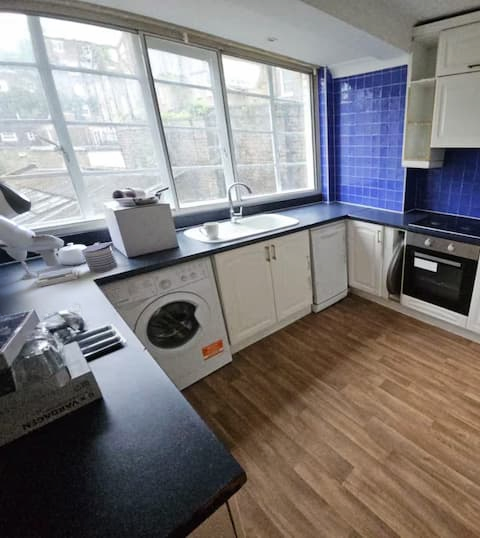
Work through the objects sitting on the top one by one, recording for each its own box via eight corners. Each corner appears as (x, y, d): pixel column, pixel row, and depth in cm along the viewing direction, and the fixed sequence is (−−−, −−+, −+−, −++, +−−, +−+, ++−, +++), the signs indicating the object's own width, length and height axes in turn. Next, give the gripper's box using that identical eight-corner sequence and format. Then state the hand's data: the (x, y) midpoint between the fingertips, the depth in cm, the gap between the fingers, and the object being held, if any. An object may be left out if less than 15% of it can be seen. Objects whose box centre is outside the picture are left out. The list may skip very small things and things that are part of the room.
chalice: (41, 272, 147) (24, 238, 140) (41, 276, 143) (23, 241, 136) (20, 277, 143) (1, 242, 135) (19, 281, 138) (-1, 245, 131)
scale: (38, 287, 132) (35, 281, 131) (41, 278, 140) (39, 273, 139) (77, 278, 140) (74, 273, 139) (77, 271, 148) (75, 266, 147)
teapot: (51, 271, 149) (42, 251, 145) (52, 263, 158) (43, 245, 154) (106, 259, 162) (99, 241, 158) (104, 253, 172) (97, 235, 167)
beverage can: (44, 267, 135) (32, 242, 130) (49, 264, 139) (37, 239, 134) (57, 265, 137) (46, 241, 132) (62, 262, 141) (51, 238, 136)
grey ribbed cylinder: (111, 271, 147) (102, 248, 142) (85, 274, 144) (75, 251, 140) (122, 263, 157) (114, 241, 152) (97, 265, 155) (88, 243, 150)
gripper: (50, 228, 126) (75, 243, 139) (-7, 232, 123) (24, 247, 135) (47, 241, 124) (72, 255, 137) (-11, 246, 120) (20, 259, 133)
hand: (48, 251), depth 136 cm, fingers closed on beverage can, 5 cm apart
